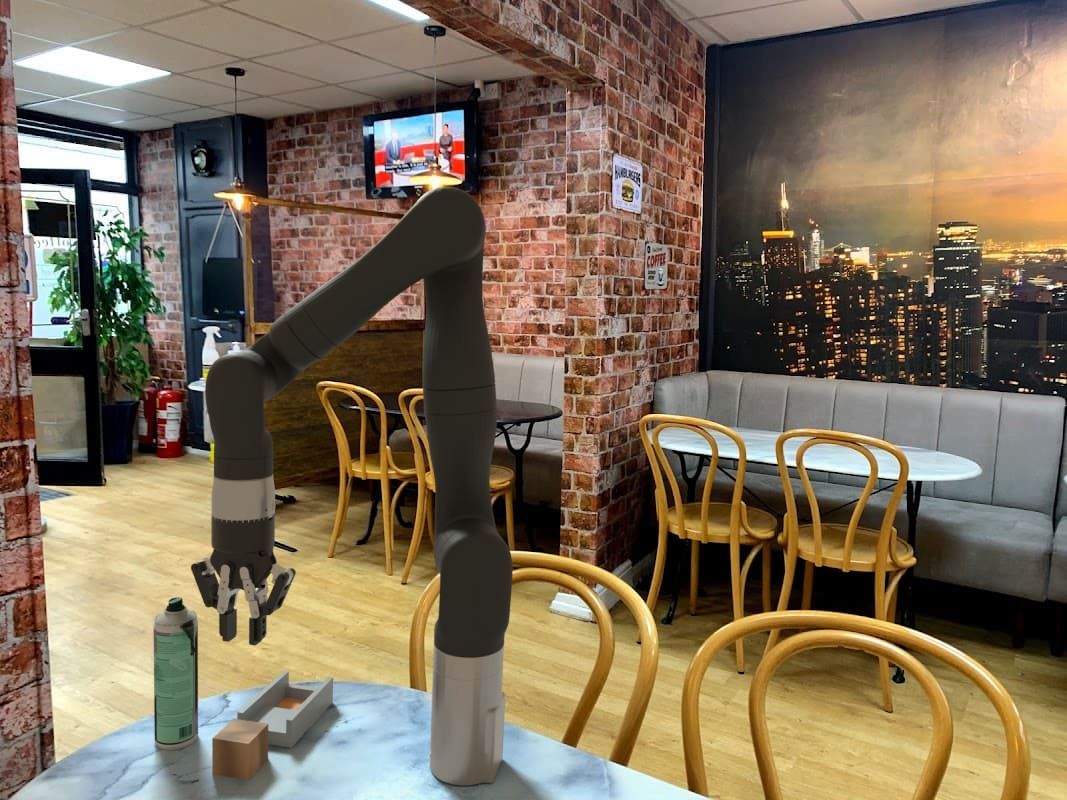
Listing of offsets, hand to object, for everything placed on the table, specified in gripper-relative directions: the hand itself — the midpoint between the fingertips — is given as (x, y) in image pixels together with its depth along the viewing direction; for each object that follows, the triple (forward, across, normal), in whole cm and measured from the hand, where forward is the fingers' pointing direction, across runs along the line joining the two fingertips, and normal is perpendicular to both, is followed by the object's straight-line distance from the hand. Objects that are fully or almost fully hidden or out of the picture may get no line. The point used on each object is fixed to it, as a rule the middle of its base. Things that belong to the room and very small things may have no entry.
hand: (243, 640), depth 101 cm
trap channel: (+17, 0, +11) cm, 21 cm away
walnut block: (+15, 0, +2) cm, 15 cm away
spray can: (+17, -12, +3) cm, 21 cm away
